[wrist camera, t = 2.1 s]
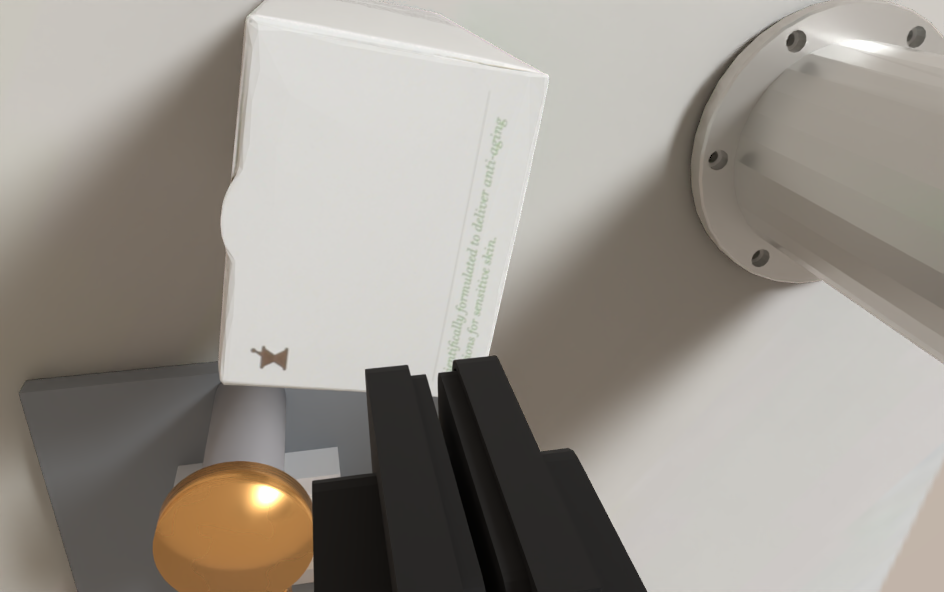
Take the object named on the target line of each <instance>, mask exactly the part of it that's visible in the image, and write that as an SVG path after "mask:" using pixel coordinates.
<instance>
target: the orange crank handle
mask: <svg viewBox="0 0 944 592" xmlns="http://www.w3.org/2000/svg"><path fill="white" fill-rule="evenodd" d="M153 557H154V561H155V564H156V567H157V569H158V570H159V572H160V574H161V575H162V577H163V578H164V579H165V581H166V582H167V583H169V584H170V585H171V586H172V587H173V588H174V589H176V590H177V591H178V592H292V585H293V584H294V583H295V582H296V581H297V580H298V579H299V578H300V577H301V576H302V575H303V574H304V572H305V571H306V569H307V568H308V566H309V564H310V562H311V560H312V558H313V521H312V501H311V499H310V497H309V495H308V493H307V491H306V490H305V489H304V488H303V486H302V485H301V484H300V483H299V482H298V481H297V480H296V479H294V478H293V477H292V476H290V475H289V474H287V473H285V472H283V471H282V470H280V469H277V468H275V467H272V466H269V465H266V464H262V463H256V462H249V461H233V462H224V463H218V464H214V465H211V466H207V467H205V468H202V469H200V470H197V471H196V472H194V473H192V474H190V475H188V476H187V477H186V478H184V479H183V480H181V481H180V482H179V483H178V484H177V485H176V486H175V487H174V488H173V489H172V490H171V491H170V493H169V494H168V495H167V497H166V499H165V500H164V502H163V504H162V507H161V509H160V514H159V518H158V522H157V526H156V531H155V535H154V539H153Z"/></svg>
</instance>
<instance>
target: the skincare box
mask: <svg viewBox="0 0 944 592" xmlns="http://www.w3.org/2000/svg"><path fill="white" fill-rule="evenodd" d="M548 83H549V75H548V74H545V73H543V72H541V71H539V70H538V69H536V68H534V67H532V66H531V65H529V64H527V63H525V62H523V61H521V60H519V59H518V58H516V57H514V56H512V55H510V54H509V53H507V52H505V51H503V50H502V49H500V48H498V47H497V46H495V45H493V44H491V43H490V42H488V41H486V40H484V39H483V38H481V37H479V36H477V35H475V34H474V33H472V32H471V31H469V30H467V29H465V28H463V27H462V26H460V25H458V24H456V23H455V22H453V21H451V20H449V19H447V18H445V17H444V16H443V15H441V14H439V13H435V12H430V11H426V10H421V9H416V8H411V7H406V6H402V5H396V4H391V3H386V2H381V1H376V0H264V1H263V2H262V3H261V4H260V5H259V6H258V7H256V8H255V9H254V10H253V11H252V12H251V13H250V14H249V15H248V16H247V17H246V20H245V26H244V38H243V51H242V64H241V75H240V86H239V97H238V107H237V118H236V129H235V140H234V151H233V162H232V172H231V183H230V186H229V188H228V190H227V192H226V195H225V197H224V200H223V203H222V208H221V219H220V225H221V235H222V239H223V243H224V246H225V249H226V255H225V269H224V283H223V298H222V312H221V327H220V341H219V359H218V369H219V376H220V381H221V382H222V383H223V384H224V385H243V386H260V387H277V388H295V389H315V390H335V391H356V392H366V382H365V369H370V368H380V367H389V366H399V365H408V366H409V370H410V374H411V376H412V375H421V374H426V376H427V379H428V383H429V386H430V390H431V394H432V397H438V373H440V372H450V371H452V364H453V360H457V359H466V358H476V357H486V356H489V352H490V347H491V343H492V339H493V334H494V330H495V326H496V321H497V317H498V312H499V308H500V303H501V299H502V295H503V290H504V286H505V281H506V277H507V273H508V268H509V264H510V260H511V255H512V251H513V246H514V242H515V238H516V233H517V229H518V225H519V220H520V216H521V212H522V207H523V202H524V198H525V193H526V188H527V184H528V179H529V174H530V170H531V165H532V160H533V156H534V151H535V147H536V142H537V137H538V133H539V128H540V123H541V119H542V114H543V108H544V103H545V98H546V93H547V89H548Z"/></svg>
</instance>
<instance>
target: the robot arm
mask: <svg viewBox="0 0 944 592" xmlns="http://www.w3.org/2000/svg"><path fill="white" fill-rule="evenodd" d="M788 36H789V39H788ZM787 39H788V42H787V43H786V41H787ZM712 153H713V156H712V157H711V158H710V155H711V154H712ZM709 158H710V159H709ZM691 189H692V193H693V198H694V202H695V207H696V211H697V214H698V216H699V218H700V220H701V222H702V225H703V227H704V229H705V231H706V233H707V234H708V235H709V237H710V238H711V239H712V241H713V242H714V243H715V244H716V246H717V247H718V248H719V249H720V250H721V251H722V252H723V253H724V254H726V255H727V256H728V257H729V258H730V259H731V260H733V261H734V262H735V263H736V264H738V265H739V266H741V267H742V268H744V269H745V270H747V271H749V272H750V273H752V274H754V275H758V276H761V277H764V278H767V279H770V280H773V281H779V282H788V283H805V282H816V281H822V280H823V281H824V282H825V283H827V284H828V285H830V286H831V287H833V288H834V289H836V290H837V291H838V292H840V293H841V294H843V295H844V296H846V297H847V298H849V299H850V300H851V301H853V302H854V303H856V304H857V305H859V306H860V307H862V308H863V309H865V310H866V311H867V312H869V313H870V314H872V315H873V316H875V317H876V318H878V319H879V320H880V321H882V322H883V323H885V324H886V325H888V326H889V327H891V328H892V329H893V330H895V331H896V332H898V333H899V334H901V335H902V336H904V337H905V338H906V339H908V340H909V341H911V342H912V343H914V344H915V345H917V346H918V347H919V348H921V349H922V350H924V351H925V352H927V353H928V354H930V355H931V356H933V357H934V358H935V359H937V360H938V361H940V362H941V363H943V364H944V37H943V35H942V34H941V33H940V32H939V31H938V30H937V28H936V27H935V26H934V25H933V24H932V23H931V22H930V21H928V20H927V19H925V18H924V17H922V16H921V15H919V14H918V13H916V12H915V11H913V10H912V9H909V8H906V7H903V6H900V5H898V4H895V3H892V2H889V1H882V0H830V1H826V2H822V3H818V4H814V5H810V6H808V7H806V8H804V9H802V10H799V11H797V12H795V13H793V14H791V15H789V16H786V17H784V18H783V19H781V20H780V21H779V22H777V23H776V24H774V25H773V26H771V27H770V28H768V29H767V30H766V31H764V32H763V33H761V34H760V35H759V36H758V37H757V38H756V39H755V40H754V41H753V42H751V43H750V44H749V45H748V46H747V47H746V48H745V49H744V50H743V51H742V52H741V53H740V54H739V55H738V56H737V57H736V59H735V60H734V61H733V63H732V64H731V65H730V67H729V68H728V69H727V71H726V72H725V73H724V75H723V76H722V77H721V79H720V80H719V81H718V83H717V85H716V87H715V89H714V91H713V93H712V95H711V97H710V98H709V100H708V102H707V104H706V106H705V108H704V111H703V114H702V117H701V120H700V123H699V126H698V128H697V131H696V134H695V140H694V146H693V152H692V158H691ZM365 382H366V396H367V409H368V422H369V436H370V449H371V463H372V473H368V474H360V475H352V476H345V477H337V478H329V479H321V480H313V481H312V521H313V568H314V592H647V590H646V588H645V587H644V585H643V583H642V581H641V579H640V577H639V575H638V573H637V571H636V569H635V567H634V565H633V563H632V561H631V559H630V558H629V556H628V554H627V552H626V550H625V548H624V546H623V544H622V542H621V540H620V538H619V536H618V534H617V532H616V530H615V529H614V527H613V525H612V523H611V521H610V519H609V517H608V515H607V513H606V511H605V509H604V507H603V505H602V503H601V501H600V500H599V498H598V496H597V494H596V492H595V490H594V488H593V486H592V484H591V482H590V480H589V478H588V476H587V474H586V472H585V471H584V469H583V467H582V465H581V463H580V461H579V459H578V457H577V456H576V454H575V453H574V451H573V450H571V449H569V448H566V449H558V450H550V451H542V452H540V450H539V448H538V445H537V443H536V441H535V439H534V437H533V434H532V432H531V430H530V428H529V426H528V423H527V421H526V419H525V417H524V414H523V412H522V410H521V408H520V406H519V403H518V401H517V399H516V397H515V395H514V392H513V390H512V388H511V386H510V384H509V381H508V379H507V377H506V375H505V373H504V370H503V368H502V366H501V364H500V361H499V359H498V358H497V356H486V357H476V358H466V359H457V360H453V364H452V371H450V372H440V373H438V415H437V412H436V408H435V404H434V401H433V397H432V394H431V390H430V386H429V383H428V379H427V376H426V374H421V375H412V376H411V374H410V370H409V366H408V365H399V366H389V367H380V368H370V369H365ZM438 418H439V419H438Z"/></svg>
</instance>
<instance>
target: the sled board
mask: <svg viewBox="0 0 944 592" xmlns="http://www.w3.org/2000/svg"><path fill="white" fill-rule="evenodd" d="M19 396H20V400H21V403H22V407H23V410H24V413H25V417H26V420H27V423H28V427H29V430H30V433H31V437H32V440H33V443H34V447H35V450H36V453H37V457H38V460H39V464H40V467H41V470H42V474H43V477H44V480H45V484H46V487H47V490H48V494H49V497H50V500H51V504H52V507H53V510H54V514H55V517H56V521H57V524H58V527H59V531H60V534H61V537H62V541H63V544H64V547H65V551H66V554H67V557H68V561H69V564H70V567H71V571H72V574H73V578H74V581H75V584H76V588H77V591H78V592H178V591H177V590H176V589H174V588H173V587H172V586H171V585H170V584H169V583H167V582H166V581H165V579H164V578H163V577H162V575H161V574H160V572H159V570H158V569H157V567H156V564H155V561H154V557H153V539H154V535H155V531H156V526H157V522H158V518H159V514H160V509H161V507H162V504H163V502H164V500H165V499H166V497H167V495H168V494H169V493H170V491H171V490H172V489H173V488H174V487H175V486H176V485H177V484H178V483H179V482H180V481H181V480H183V479H184V478H186V477H187V476H188V475H190V474H192V473H194V472H196V471H197V470H200V469H202V468H205V467H207V466H211V465H214V464H218V463H224V462H233V461H249V462H256V463H262V464H266V465H269V466H272V467H275V468H277V469H280V470H282V471H283V472H285V473H287V474H289V475H290V476H292V477H293V478H294V479H296V480H297V481H298V482H299V483H300V484H301V485H302V486H303V488H304V489H305V490H306V491H307V493H308V495H309V497H310V499H311V501H312V481H313V480H321V479H329V478H337V477H345V476H352V475H360V474H368V473H372V463H371V449H370V436H369V422H368V409H367V396H366V392H356V391H335V390H315V389H295V388H277V387H260V386H243V385H224V384H223V383H222V382H221V381H220V376H219V369H218V362H209V363H199V364H189V365H179V366H168V367H158V368H148V369H138V370H128V371H118V372H108V373H98V374H88V375H78V376H68V377H57V378H47V379H37V380H27V381H26V382H25V383H24V385H23V387H22V388H21V390H20V392H19ZM433 401H434V404H435V408H436V412H437V415H438V397H433ZM438 419H439V418H438ZM292 592H314V568H313V558H312V560H311V562H310V564H309V566H308V568H307V569H306V571H305V572H304V574H303V575H302V576H301V577H300V578H299V579H298V580H297V581H296V582H295V583H294V584H293V585H292Z"/></svg>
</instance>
